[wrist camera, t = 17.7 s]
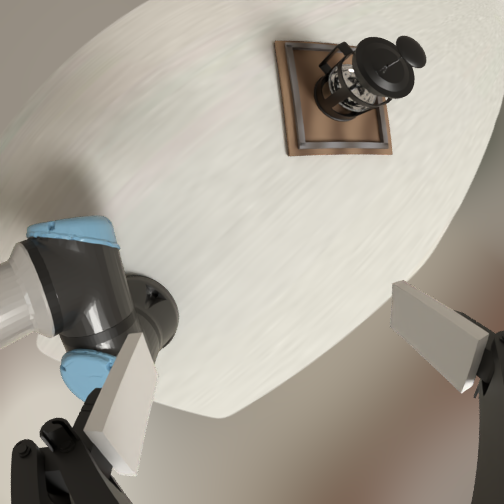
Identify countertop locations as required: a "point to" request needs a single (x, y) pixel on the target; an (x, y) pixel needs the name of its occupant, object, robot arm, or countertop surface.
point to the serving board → (311, 117)
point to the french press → (368, 75)
